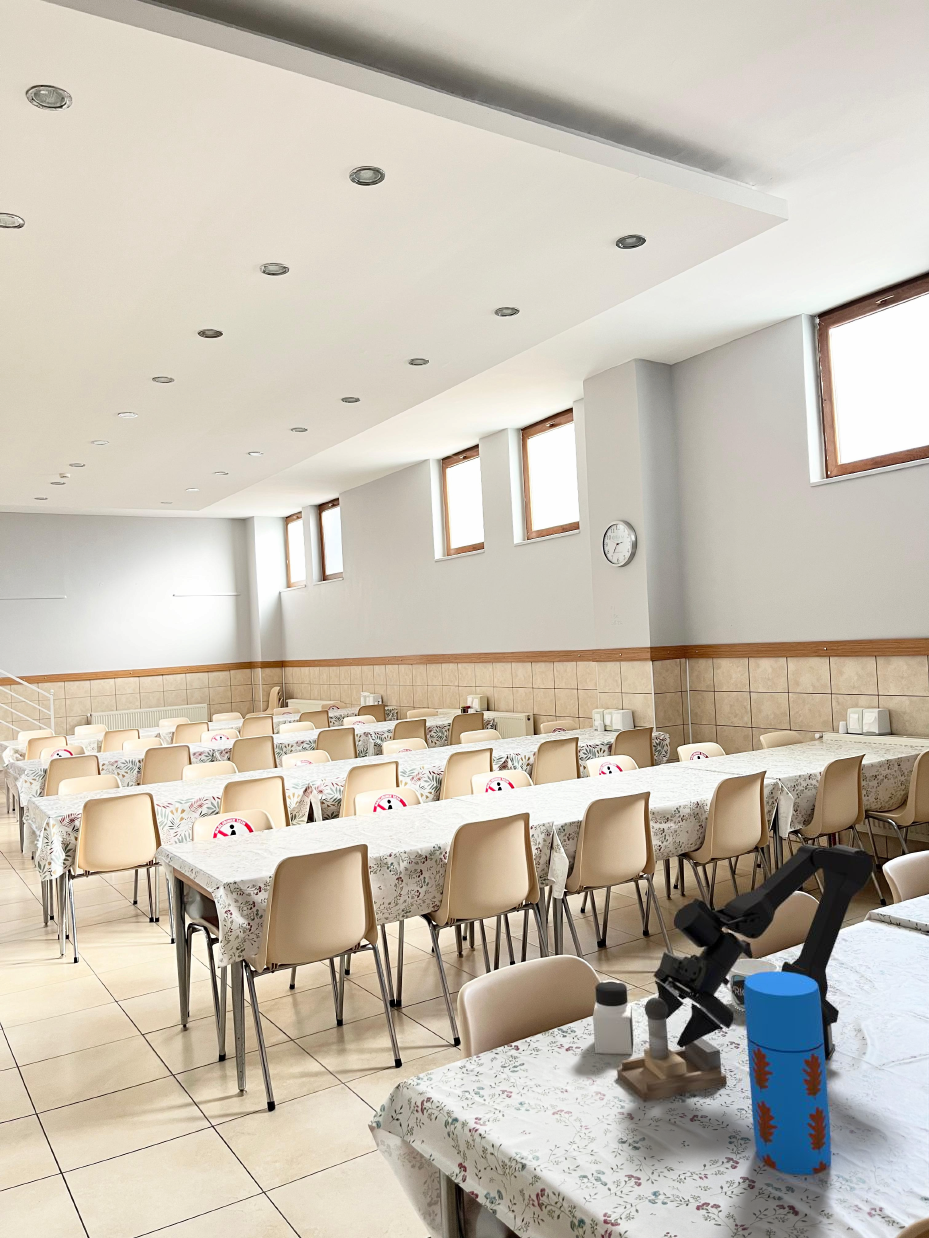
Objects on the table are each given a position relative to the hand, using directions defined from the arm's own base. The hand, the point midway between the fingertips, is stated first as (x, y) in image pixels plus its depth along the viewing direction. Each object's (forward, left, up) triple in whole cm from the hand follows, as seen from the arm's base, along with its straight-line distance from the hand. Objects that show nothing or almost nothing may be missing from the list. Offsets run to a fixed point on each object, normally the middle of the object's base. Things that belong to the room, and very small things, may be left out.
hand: (665, 1036), depth 160 cm
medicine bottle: (+14, -9, -8) cm, 19 cm away
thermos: (-25, +15, -8) cm, 30 cm away
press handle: (+1, +1, -6) cm, 6 cm away
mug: (-3, -41, -8) cm, 42 cm away
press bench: (0, 0, -8) cm, 8 cm away
